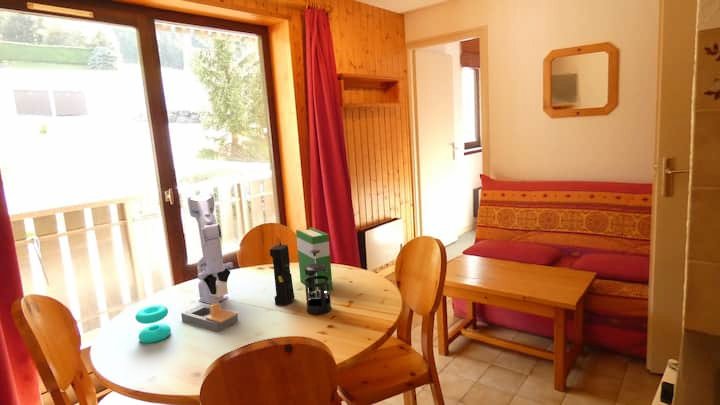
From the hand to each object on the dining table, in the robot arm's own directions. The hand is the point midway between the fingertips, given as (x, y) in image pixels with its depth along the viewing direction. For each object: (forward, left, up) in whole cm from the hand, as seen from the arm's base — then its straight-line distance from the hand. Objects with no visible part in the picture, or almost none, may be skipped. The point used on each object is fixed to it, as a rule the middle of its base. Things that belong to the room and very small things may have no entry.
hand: (218, 291), depth 159 cm
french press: (+31, +20, -10) cm, 38 cm away
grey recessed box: (0, -5, -9) cm, 11 cm away
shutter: (+7, -5, -6) cm, 11 cm away
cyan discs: (-7, -22, -10) cm, 25 cm away
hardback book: (+14, +40, -10) cm, 43 cm away
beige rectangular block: (0, 0, -2) cm, 3 cm away
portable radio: (+14, +20, -10) cm, 26 cm away
